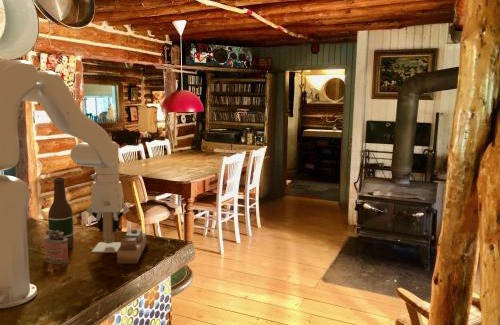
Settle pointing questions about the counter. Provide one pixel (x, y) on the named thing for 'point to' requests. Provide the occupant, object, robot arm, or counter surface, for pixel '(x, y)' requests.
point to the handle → (108, 226)
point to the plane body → (131, 246)
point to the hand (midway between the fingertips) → (108, 230)
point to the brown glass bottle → (61, 212)
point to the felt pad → (107, 247)
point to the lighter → (56, 247)
